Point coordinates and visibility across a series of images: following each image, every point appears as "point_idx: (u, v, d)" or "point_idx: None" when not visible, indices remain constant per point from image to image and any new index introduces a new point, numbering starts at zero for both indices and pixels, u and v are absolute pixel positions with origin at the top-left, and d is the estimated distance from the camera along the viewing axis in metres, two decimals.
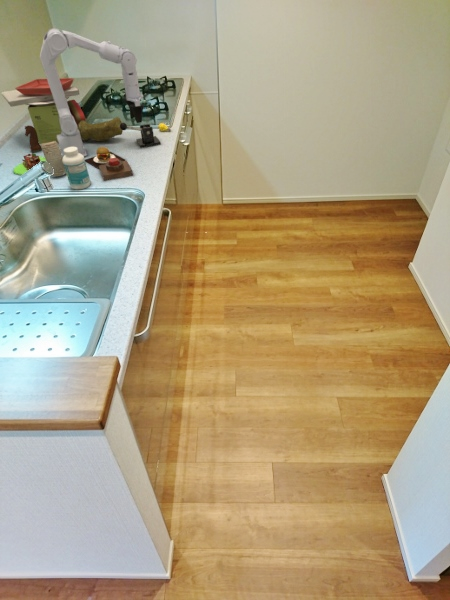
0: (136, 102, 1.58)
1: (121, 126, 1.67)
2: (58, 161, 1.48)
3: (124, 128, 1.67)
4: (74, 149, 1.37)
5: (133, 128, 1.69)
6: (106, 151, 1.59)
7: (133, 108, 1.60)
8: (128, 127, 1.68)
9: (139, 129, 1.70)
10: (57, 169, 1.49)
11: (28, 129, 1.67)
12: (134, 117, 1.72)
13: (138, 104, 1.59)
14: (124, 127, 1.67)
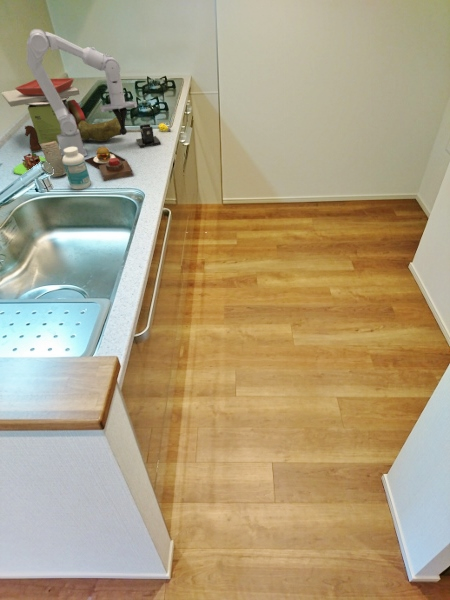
0: (100, 107, 1.60)
1: (121, 131, 1.68)
2: (58, 161, 1.48)
3: (124, 133, 1.68)
4: (74, 149, 1.37)
5: (133, 131, 1.70)
6: (106, 151, 1.59)
7: None
8: (128, 131, 1.69)
9: (139, 130, 1.71)
10: (57, 169, 1.49)
11: (28, 129, 1.67)
12: None
13: (101, 110, 1.61)
14: (124, 131, 1.68)
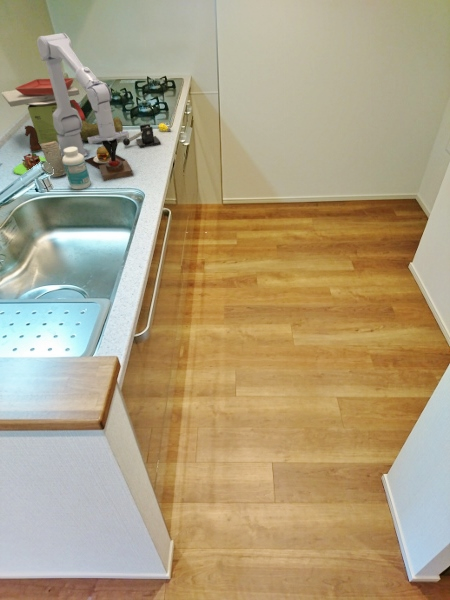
0: None
1: (124, 143, 1.71)
2: (58, 161, 1.48)
3: (128, 143, 1.71)
4: (74, 149, 1.37)
5: (135, 137, 1.72)
6: (106, 151, 1.59)
7: None
8: (130, 139, 1.72)
9: (140, 134, 1.72)
10: (57, 169, 1.49)
11: (28, 129, 1.67)
12: None
13: None
14: (127, 142, 1.71)
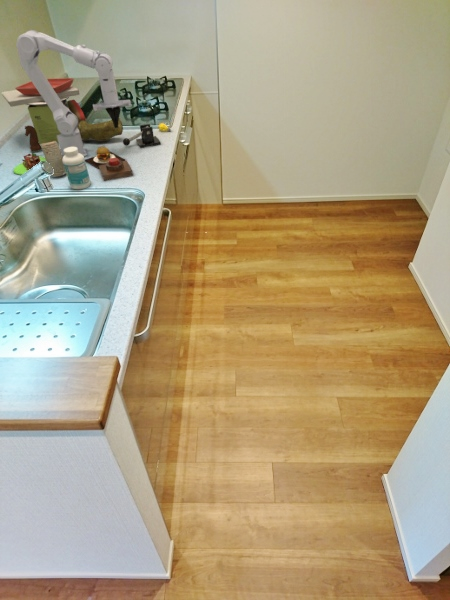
0: (93, 106, 1.55)
1: (124, 143, 1.71)
2: (58, 161, 1.48)
3: (128, 143, 1.71)
4: (74, 149, 1.37)
5: (135, 137, 1.72)
6: (106, 151, 1.59)
7: None
8: (130, 139, 1.72)
9: (140, 134, 1.72)
10: (57, 169, 1.49)
11: (28, 129, 1.67)
12: None
13: None
14: (127, 142, 1.71)
